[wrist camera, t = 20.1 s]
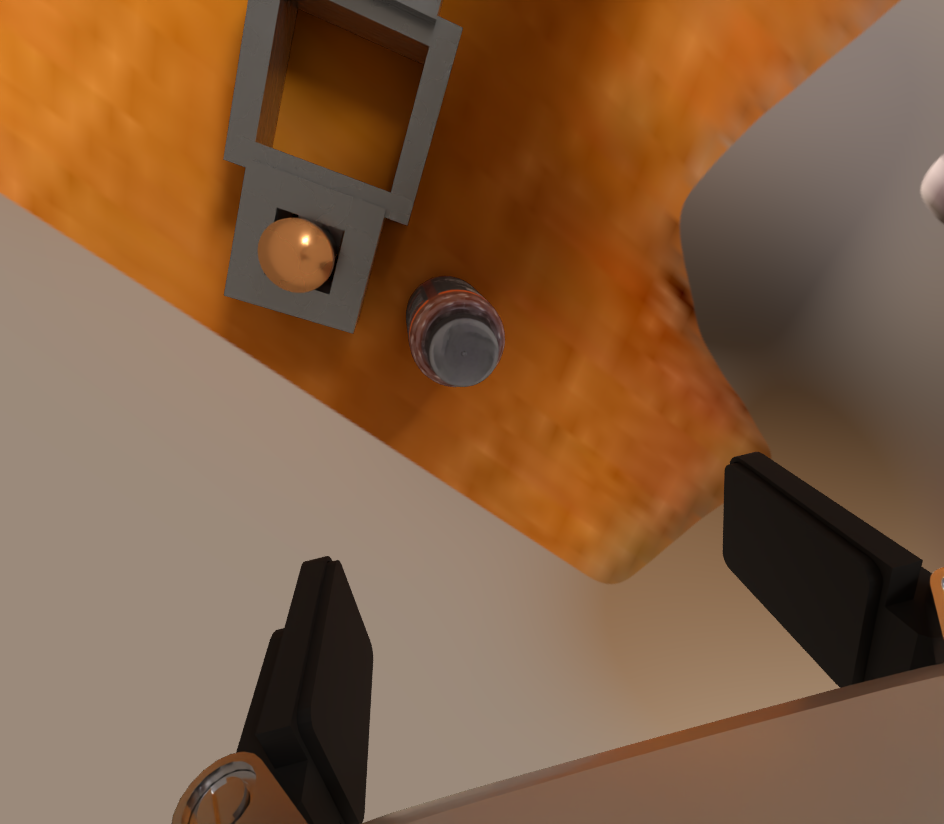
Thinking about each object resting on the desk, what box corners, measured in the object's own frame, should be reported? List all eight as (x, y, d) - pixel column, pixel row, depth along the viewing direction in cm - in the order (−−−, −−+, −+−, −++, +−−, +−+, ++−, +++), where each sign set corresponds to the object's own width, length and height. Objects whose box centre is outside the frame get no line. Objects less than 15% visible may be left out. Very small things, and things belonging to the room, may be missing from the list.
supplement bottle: (409, 355, 38) (413, 408, 28) (401, 277, 36) (403, 303, 26) (484, 349, 39) (516, 399, 29) (481, 271, 37) (515, 295, 26)
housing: (305, -200, 26) (285, -287, 21) (495, -94, 29) (513, -152, 24) (224, 277, 34) (197, 287, 30) (378, 324, 37) (375, 340, 32)
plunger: (290, 207, 32) (265, 207, 26) (350, 228, 33) (339, 232, 27) (277, 267, 33) (251, 279, 27) (336, 286, 34) (323, 301, 28)
